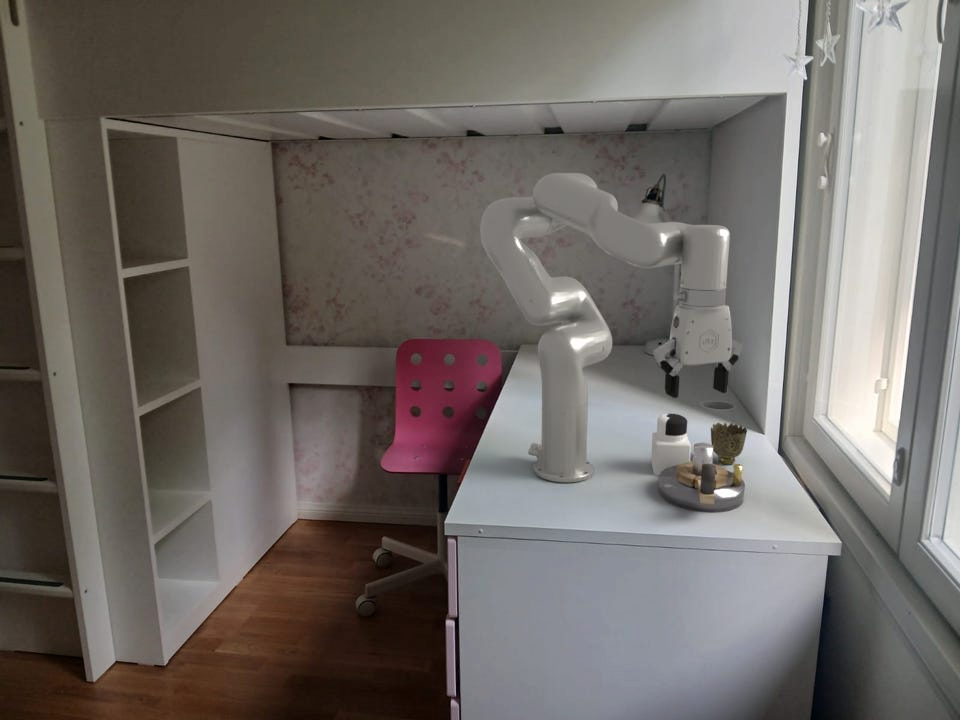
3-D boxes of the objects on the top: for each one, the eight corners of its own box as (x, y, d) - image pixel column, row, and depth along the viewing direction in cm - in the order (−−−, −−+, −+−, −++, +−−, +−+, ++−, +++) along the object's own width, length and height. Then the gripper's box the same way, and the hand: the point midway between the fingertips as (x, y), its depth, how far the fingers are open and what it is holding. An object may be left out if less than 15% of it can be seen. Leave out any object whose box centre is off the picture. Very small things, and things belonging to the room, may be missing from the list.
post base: (643, 496, 142) (645, 447, 139) (681, 471, 153) (684, 426, 151) (722, 520, 131) (726, 468, 129) (756, 492, 143) (761, 444, 140)
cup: (716, 453, 163) (718, 419, 161) (749, 461, 158) (752, 426, 156) (702, 463, 157) (705, 428, 155) (736, 471, 153) (739, 435, 151)
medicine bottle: (684, 464, 157) (687, 411, 154) (689, 477, 150) (692, 422, 147) (650, 462, 158) (653, 410, 155) (653, 475, 151) (656, 421, 148)
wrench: (675, 467, 147) (676, 436, 145) (724, 470, 145) (726, 439, 143) (680, 501, 131) (682, 467, 130) (734, 505, 130) (737, 471, 128)
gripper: (669, 304, 119) (663, 404, 123) (759, 298, 124) (751, 394, 128) (646, 297, 126) (641, 392, 130) (732, 292, 131) (725, 383, 135)
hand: (695, 393), depth 129 cm, fingers open, 9 cm apart
